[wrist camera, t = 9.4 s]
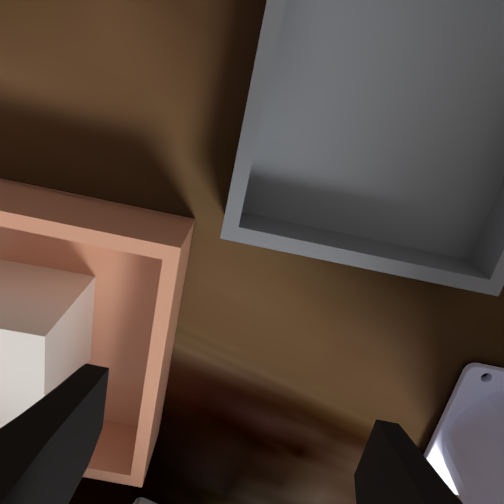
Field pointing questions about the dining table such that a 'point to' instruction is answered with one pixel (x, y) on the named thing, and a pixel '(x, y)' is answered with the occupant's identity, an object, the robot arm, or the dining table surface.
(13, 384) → the white cube
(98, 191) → the dining table surface
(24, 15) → the dining table surface
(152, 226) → the bin
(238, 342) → the dining table surface
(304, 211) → the tray
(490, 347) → the dining table surface
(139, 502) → the coffee box
